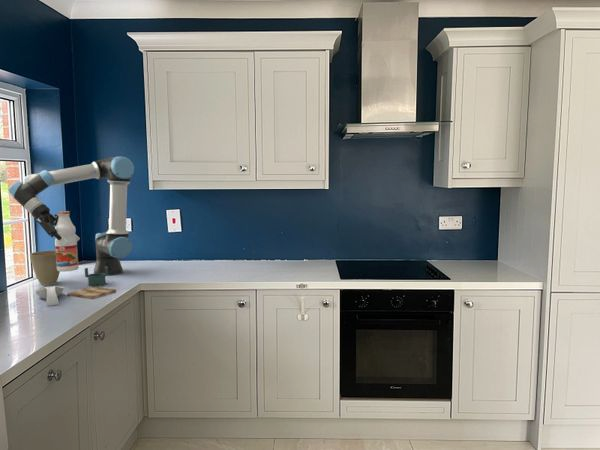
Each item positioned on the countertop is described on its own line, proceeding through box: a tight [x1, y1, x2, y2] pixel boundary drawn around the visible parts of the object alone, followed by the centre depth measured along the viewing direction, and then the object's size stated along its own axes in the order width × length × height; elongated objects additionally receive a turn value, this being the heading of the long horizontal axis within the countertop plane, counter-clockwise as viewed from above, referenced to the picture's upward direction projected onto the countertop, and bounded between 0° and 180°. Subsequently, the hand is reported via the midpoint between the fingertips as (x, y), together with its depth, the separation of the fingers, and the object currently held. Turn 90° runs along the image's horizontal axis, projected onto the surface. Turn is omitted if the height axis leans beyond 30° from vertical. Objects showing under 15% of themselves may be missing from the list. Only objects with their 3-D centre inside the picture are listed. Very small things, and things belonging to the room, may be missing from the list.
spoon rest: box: [34, 285, 65, 307], centre depth 214 cm, size 24×12×7 cm, turn 31°
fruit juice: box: [54, 210, 79, 273], centre depth 228 cm, size 9×9×28 cm
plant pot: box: [29, 250, 61, 286], centre depth 245 cm, size 15×15×16 cm
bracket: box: [84, 266, 109, 287], centre depth 242 cm, size 9×9×9 cm
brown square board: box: [67, 286, 117, 300], centre depth 224 cm, size 14×15×1 cm
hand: (72, 242), depth 228 cm, fingers closed on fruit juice, 9 cm apart
